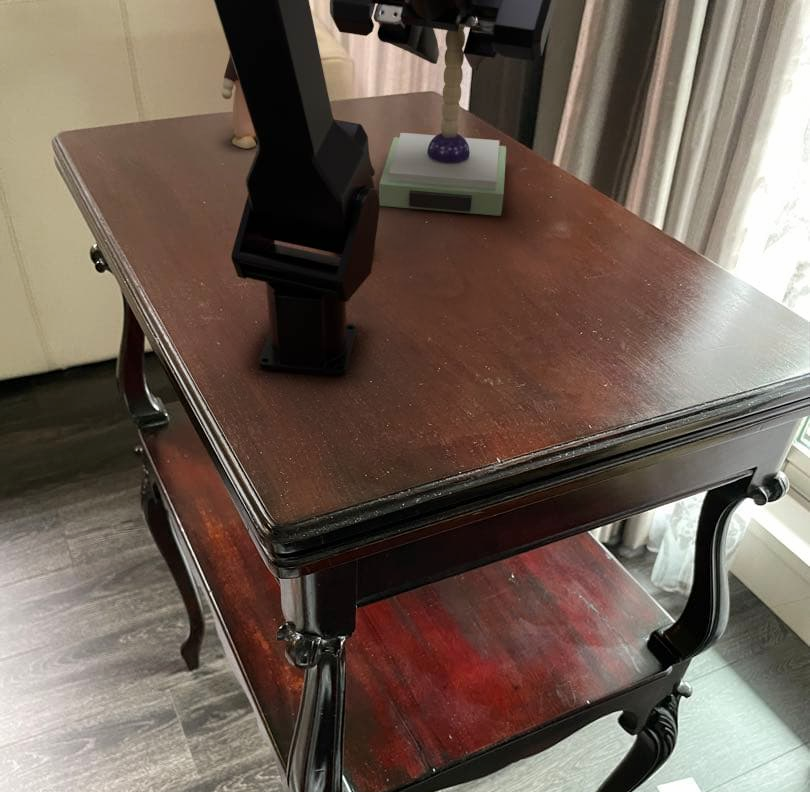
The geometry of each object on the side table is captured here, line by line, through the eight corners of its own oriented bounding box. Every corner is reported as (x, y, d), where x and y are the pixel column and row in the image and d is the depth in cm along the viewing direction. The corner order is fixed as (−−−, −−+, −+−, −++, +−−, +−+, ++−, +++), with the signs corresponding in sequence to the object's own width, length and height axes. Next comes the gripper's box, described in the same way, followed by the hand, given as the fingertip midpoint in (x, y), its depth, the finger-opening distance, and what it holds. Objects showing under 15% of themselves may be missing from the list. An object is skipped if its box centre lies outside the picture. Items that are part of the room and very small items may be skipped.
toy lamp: (464, 167, 82) (482, -37, 70) (417, 161, 82) (428, -42, 71) (472, 149, 85) (491, -48, 73) (427, 143, 86) (439, -53, 74)
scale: (500, 218, 81) (504, 187, 79) (378, 208, 82) (378, 177, 80) (503, 167, 90) (507, 138, 88) (393, 158, 91) (393, 128, 88)
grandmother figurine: (257, 154, 90) (245, 19, 81) (223, 150, 90) (207, 15, 81) (279, 128, 95) (270, -1, 86) (246, 124, 96) (234, -5, 87)
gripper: (575, -153, 61) (577, -9, 77) (340, -175, 66) (387, -34, 81) (533, -4, 62) (544, 109, 77) (302, -35, 66) (356, 78, 81)
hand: (456, 62), depth 79 cm, fingers closed on toy lamp, 4 cm apart
